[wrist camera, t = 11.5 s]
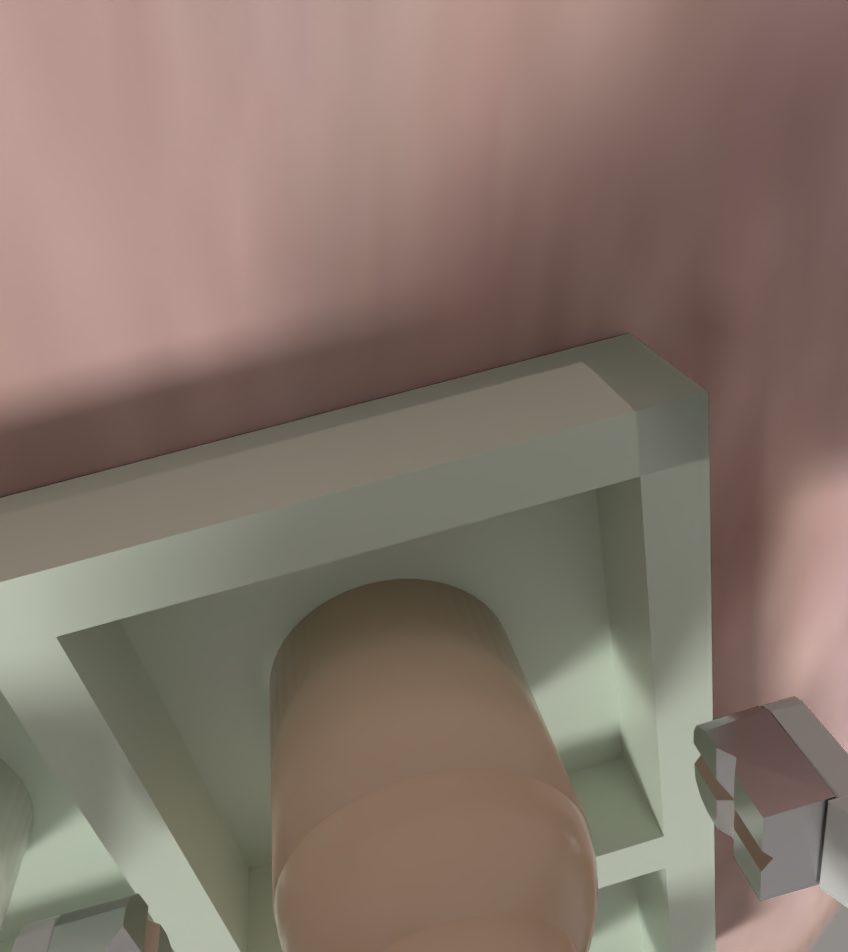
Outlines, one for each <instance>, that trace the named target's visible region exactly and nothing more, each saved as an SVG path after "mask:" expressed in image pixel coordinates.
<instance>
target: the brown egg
mask: <svg viewBox="0 0 848 952" xmlns="http://www.w3.org/2000/svg"><path fill="white" fill-rule="evenodd" d="M269 700H270V766H271V833H272V900H273V912H274V919H275V922H276V927H277V931H278V936H279V940H280V944H281V948H282V950H283V952H589V949H590V946H591V941H592V937H593V933H594V928H595V923H596V917H597V905H598V876H597V861H596V856H595V851H594V846H593V841H592V836H591V832H590V828H589V824H588V822H587V819H586V817H585V815H584V812H583V810H582V808H581V805H580V803H579V801H578V798H577V796H576V794H575V791H574V789H573V787H572V785H571V782H570V780H569V778H568V775H567V773H566V771H565V768H564V766H563V764H562V761H561V759H560V757H559V754H558V752H557V750H556V747H555V745H554V743H553V741H552V738H551V736H550V734H549V731H548V729H547V727H546V724H545V722H544V720H543V717H542V715H541V713H540V710H539V708H538V706H537V704H536V701H535V699H534V697H533V694H532V692H531V690H530V687H529V685H528V683H527V680H526V678H525V676H524V673H523V671H522V669H521V666H520V664H519V662H518V660H517V657H516V655H515V653H514V650H513V648H512V646H511V643H510V641H509V639H508V636H507V634H506V632H505V630H504V628H503V626H502V624H501V622H500V621H499V619H498V618H497V617H496V615H495V614H494V613H493V612H492V611H491V610H490V609H489V608H488V607H487V606H486V605H485V604H484V603H483V602H481V601H480V600H479V599H477V598H476V597H475V596H473V595H471V594H469V593H467V592H465V591H463V590H462V589H459V588H456V587H453V586H451V585H448V584H444V583H440V582H435V581H430V580H421V579H394V580H386V581H379V582H375V583H370V584H366V585H363V586H360V587H357V588H354V589H351V590H348V591H346V592H344V593H341V594H339V595H337V596H335V597H333V598H331V599H329V600H328V601H326V602H325V603H323V604H321V605H320V606H318V607H317V608H315V609H314V610H313V611H312V612H310V613H309V614H308V615H306V616H305V617H304V618H303V619H302V620H301V621H300V622H299V623H298V624H297V625H296V626H295V627H294V628H293V629H292V631H291V632H290V633H289V635H288V636H287V637H286V638H285V640H284V642H283V643H282V645H281V647H280V648H279V650H278V652H277V655H276V657H275V660H274V662H273V665H272V670H271V674H270V686H269Z"/></svg>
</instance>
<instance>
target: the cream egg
mask: <svg viewBox="0 0 848 952" xmlns="http://www.w3.org/2000/svg"><path fill="white" fill-rule="evenodd" d="M33 817H34V811H33V804H32V800H31V797H30V795H29V792H28V790H27V788H26V786H25V784H24V783H23V781H22V779H21V778H20V777H19V776H18V775H17V773H16V772H15V771H14V770H13V769H12V768H11V767H10V766H9V765H8V764H7V763H6V762H5V761H3V760H2V759H1V758H0V933H1V930H2V926H3V923H4V920H5V916H6V913H7V910H8V907H9V903H10V900H11V897H12V893H13V890H14V887H15V883H16V880H17V877H18V873H19V870H20V867H21V863H22V860H23V857H24V853H25V850H26V847H27V844H28V840H29V837H30V834H31V830H32V826H33Z"/></svg>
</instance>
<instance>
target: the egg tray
mask: <svg viewBox="0 0 848 952" xmlns="http://www.w3.org/2000/svg"><path fill="white" fill-rule="evenodd" d="M394 579H421V580H430V581H435V582H440V583H444V584H448V585H451V586H453V587H456V588H459V589H462V590H463V591H465V592H467V593H469V594H471V595H473V596H475V597H476V598H477V599H479V600H480V601H481V602H483V603H484V604H485V605H486V606H487V607H488V608H489V609H490V610H491V611H492V612H493V613H494V614H495V615H496V617H497V618H498V619H499V621H500V622H501V624H502V626H503V628H504V630H505V632H506V634H507V636H508V639H509V641H510V643H511V646H512V648H513V650H514V653H515V655H516V657H517V660H518V662H519V664H520V666H521V669H522V671H523V673H524V676H525V678H526V680H527V683H528V685H529V687H530V690H531V692H532V694H533V697H534V699H535V701H536V704H537V706H538V708H539V710H540V713H541V715H542V717H543V720H544V722H545V724H546V727H547V729H548V731H549V734H550V736H551V738H552V741H553V743H554V745H555V747H556V750H557V752H558V754H559V757H560V759H561V761H562V764H563V766H564V768H565V771H566V773H567V775H568V778H569V780H570V782H571V785H572V787H573V789H574V791H575V794H576V796H577V798H578V801H579V803H580V805H581V808H582V810H583V812H584V815H585V817H586V819H587V822H588V824H589V828H590V832H591V836H592V841H593V846H594V851H595V856H596V861H597V876H598V905H597V917H596V923H595V928H594V933H593V937H592V941H591V946H590V949H589V952H716V934H715V855H714V823H713V821H712V819H711V817H710V816H709V814H708V812H707V810H706V808H705V806H704V803H703V801H702V799H701V796H700V793H699V790H698V786H697V783H696V779H695V766H694V763H695V762H696V761H697V759H698V758H699V757H700V755H701V754H700V753H699V751H698V749H697V748H696V746H695V744H694V729H695V727H696V725H699V724H703V723H706V722H709V721H712V720H713V697H712V618H711V539H710V460H709V392H708V391H707V390H705V389H704V388H703V387H701V386H700V385H699V384H697V383H696V382H695V381H693V380H692V379H691V378H689V377H688V376H687V375H685V374H684V373H683V372H681V371H680V370H678V369H677V368H676V367H674V366H673V365H672V364H670V363H669V362H668V361H666V360H665V359H664V358H662V357H661V356H660V355H658V354H657V353H656V352H654V351H653V350H652V349H650V348H649V347H648V346H646V345H645V344H643V343H642V342H641V341H639V340H638V339H637V338H635V337H634V336H633V335H631V334H630V333H628V334H624V335H620V336H616V337H613V338H609V339H605V340H601V341H597V342H594V343H590V344H586V345H582V346H578V347H574V348H571V349H567V350H563V351H559V352H555V353H552V354H548V355H544V356H540V357H536V358H532V359H529V360H525V361H521V362H517V363H513V364H510V365H506V366H502V367H498V368H494V369H490V370H487V371H483V372H479V373H475V374H471V375H468V376H464V377H460V378H456V379H452V380H449V381H445V382H441V383H437V384H433V385H429V386H426V387H422V388H418V389H414V390H410V391H407V392H403V393H399V394H395V395H391V396H387V397H384V398H380V399H376V400H372V401H368V402H365V403H361V404H357V405H353V406H349V407H345V408H342V409H338V410H334V411H330V412H326V413H323V414H319V415H315V416H311V417H307V418H303V419H300V420H296V421H292V422H288V423H284V424H281V425H277V426H273V427H269V428H265V429H261V430H258V431H254V432H250V433H246V434H242V435H239V436H235V437H231V438H227V439H223V440H219V441H216V442H212V443H208V444H204V445H200V446H197V447H193V448H189V449H185V450H181V451H177V452H174V453H170V454H166V455H162V456H158V457H155V458H151V459H147V460H143V461H139V462H135V463H132V464H128V465H124V466H120V467H116V468H113V469H109V470H105V471H101V472H97V473H93V474H90V475H86V476H82V477H78V478H74V479H71V480H67V481H63V482H59V483H55V484H51V485H48V486H44V487H40V488H36V489H32V490H29V491H25V492H21V493H17V494H13V495H9V496H6V497H2V498H0V758H1V759H2V760H3V761H5V762H6V763H7V764H8V765H9V766H10V767H11V768H12V769H13V770H14V771H15V772H16V773H17V775H18V776H19V777H20V778H21V779H22V781H23V783H24V784H25V786H26V788H27V790H28V792H29V795H30V797H31V800H32V804H33V811H34V817H33V826H32V830H31V834H30V837H29V840H28V844H27V847H26V850H25V853H24V857H23V860H22V863H21V867H20V870H19V873H18V877H17V880H16V883H15V887H14V890H13V893H12V897H11V900H10V903H9V907H8V910H7V913H6V916H5V920H4V923H3V926H2V930H1V933H0V952H12V949H13V946H14V942H15V940H16V938H17V936H18V935H19V933H20V932H21V930H22V928H23V927H24V925H27V924H30V923H34V922H37V921H40V920H44V919H47V918H51V917H54V916H57V915H61V914H65V913H69V912H72V911H76V910H80V909H83V908H87V907H91V906H94V905H98V904H101V903H105V902H109V901H112V900H116V899H120V898H123V897H127V896H130V895H134V894H138V893H139V894H140V896H141V897H142V898H143V900H144V901H145V902H146V904H147V905H148V906H149V907H148V915H147V920H149V921H152V922H155V923H158V924H160V925H161V926H162V928H163V929H164V931H165V932H166V934H167V936H168V939H169V942H170V945H171V948H172V952H283V950H282V948H281V944H280V940H279V936H278V931H277V927H276V922H275V919H274V912H273V900H272V833H271V766H270V700H269V686H270V674H271V670H272V665H273V662H274V660H275V657H276V655H277V652H278V650H279V648H280V647H281V645H282V643H283V642H284V640H285V638H286V637H287V636H288V635H289V633H290V632H291V631H292V629H293V628H294V627H295V626H296V625H297V624H298V623H299V622H300V621H301V620H302V619H303V618H304V617H305V616H306V615H308V614H309V613H310V612H312V611H313V610H314V609H315V608H317V607H318V606H320V605H321V604H323V603H325V602H326V601H328V600H329V599H331V598H333V597H335V596H337V595H339V594H341V593H344V592H346V591H348V590H351V589H354V588H357V587H360V586H363V585H366V584H370V583H375V582H379V581H386V580H394Z"/></svg>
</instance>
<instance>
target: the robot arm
mask: <svg viewBox="0 0 848 952" xmlns="http://www.w3.org/2000/svg"><path fill="white" fill-rule="evenodd" d="M694 744H695V746H696V748H697V749H698V751H699V753H700V754H701V755H700V757H699V758H698V759H697V761H696V762H695V763H694V766H695V779H696V783H697V786H698V790H699V793H700V796H701V799H702V801H703V803H704V806H705V808H706V810H707V812H708V814H709V816H710V817H711V819H712V821H713V823H714V824H715V826H716V828H717V829H718V830H720V831H722V832H723V833H725V834H727V835H729V836H730V837H732V838H734V858H735V860H736V862H737V863H738V865H739V866H740V868H741V870H742V871H743V873H744V875H745V876H746V878H747V880H748V881H749V883H750V885H751V886H752V888H753V890H754V891H755V893H756V895H757V896H758V898H759V900H760V901H762V900H765V899H769V898H772V897H776V896H779V895H783V894H786V893H790V892H793V891H797V890H800V889H804V888H808V887H811V886H815V885H818V884H819V888H820V889H822V890H823V891H824V892H826V893H827V894H829V895H830V896H832V897H833V898H834V899H836V900H837V901H839V902H840V903H842V904H843V905H844V906H846V907H848V753H847V752H846V751H845V750H844V749H843V748H842V746H841V745H840V744H839V743H838V742H837V741H836V739H835V738H834V737H833V736H832V735H831V734H830V732H829V731H828V730H827V729H826V728H825V727H824V725H823V724H822V723H821V722H820V721H819V720H818V718H817V717H816V716H815V715H814V714H813V713H812V711H811V710H810V709H809V708H808V707H807V706H806V704H805V703H804V702H803V701H802V700H800V699H798V698H796V697H789V698H786V699H782V700H779V701H776V702H773V703H770V704H767V705H764V706H761V707H759V706H756V707H753V708H750V709H747V710H744V711H741V712H737V713H734V714H731V715H728V716H725V717H722V718H718V719H715V720H712V721H709V722H706V723H703V724H699V725H696V727H695V729H694ZM148 907H149V906H148V905H147V904H146V902H145V901H144V900H143V898H142V897H141V896H140V894H139V893H138V894H134V895H130V896H127V897H123V898H120V899H116V900H112V901H109V902H105V903H101V904H98V905H94V906H91V907H87V908H83V909H80V910H76V911H72V912H69V913H65V914H61V915H57V916H54V917H51V918H47V919H44V920H40V921H37V922H34V923H30V924H27V925H24V927H23V928H22V930H21V932H20V933H19V935H18V936H17V938H16V940H15V942H14V946H13V949H12V952H172V948H171V945H170V942H169V939H168V936H167V934H166V932H165V931H164V929H163V928H162V926H161V925H160V924H158V923H155V922H152V921H149V920H147V915H148Z"/></svg>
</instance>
